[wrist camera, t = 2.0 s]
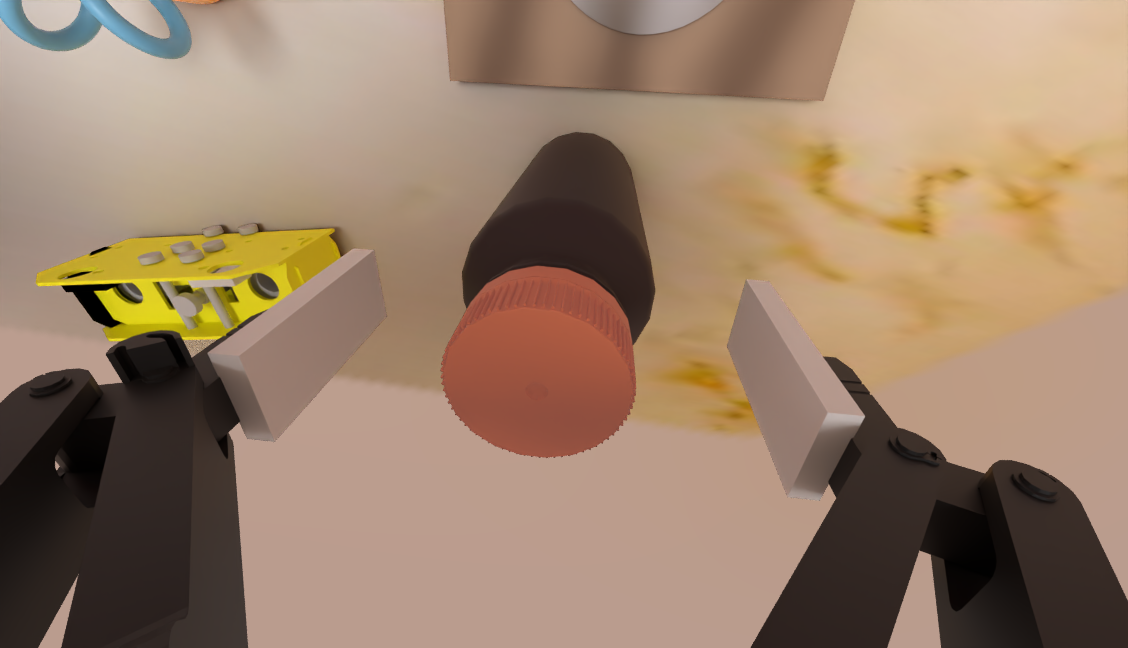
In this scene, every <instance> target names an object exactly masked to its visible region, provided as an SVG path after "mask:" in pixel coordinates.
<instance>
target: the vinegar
mask: <svg viewBox="0 0 1128 648" xmlns="http://www.w3.org/2000/svg"><path fill="white" fill-rule="evenodd" d="M462 280H463V299H464V303H465V305H466V308H467V310H466V312H465V313H464V315H463V318H462V319H461V321H460V323H459V325H458V327H457V328H456V330H455V332H454V334H453V335H452V337H451V339H450V341H449V343H448V345H447V347H446V349H445V353H444V355H443V357H442V358H444V359H443V361H442V363H441V365H443V366H442V368H441V370H440V371H442V372H443V373H442V375H441V378H443V381H442V383H441V384H442V385H445V387H444V389H443V391H445V393H446V395H445V397H448V399H449V401H448V403H450V404H451V405H452V408H451V409H454V411H455V413H456V414H455V415H457V416H458V417H460V421H463V422H464V423H465V426H468V427H469V428H470V430H471V431H472V432H474V433H475V434H476V435H479V436H480V437H482V439H485V440H486V441H488V443H491V444H493V445H494V446H497V447H500V448H502V449H506V450H508V451H509V452H510V451H511V452H514V453H516V454H520V455H529V456H531V457H532V456H537V457H539V458H540V457H546V458H548V457H554V458H555V457H556V456H561V457H563V456H567V455H568V456H570V455H573V454H577V453H579V452H584V450H587V449H589V450H590V449H591V448H593V447H597V445H598V444H600V443H603V441H604V440H605V439H608V440H609V436H611V435H614V433H615V432H616V430H617V431H619V426H620V425H621V426H623V420H627V415H630V409H632V408H633V405H632V402H635V400H634V396H636V392H635V389H636V378H635V367H634V355H633V344H634V343H635V342H636V340H637V339H638V337H639V335H640V334H641V332H642V331H643V329H644V327H645V326H646V324H647V322H648V321H649V319H650V315H651V310H652V305H653V300H654V295H655V285H654V278H653V272H652V265H651V259H650V255H649V250H648V246H647V241H646V237H645V232H644V227H643V223H642V218H641V214H640V209H639V205H638V200H637V195H636V191H635V186H634V182H633V177H632V173H631V169H630V167H629V165H628V163H627V161H626V159H625V157H624V156H623V154H622V153H621V152H620V151H619V150H618V149H617V148H616V147H615V146H614V145H613V144H612V143H611V142H610V141H607V140H605V139H603V138H601V137H599V136H597V135H594V134H588V133H577V132H575V133H571V134H567V135H563V136H559V137H557V138H555V139H554V140H552V141H551V142H549V143H548V144H546V145H545V146H543V148H542V149H541V150H540V151H539V153H538V154H537V155H536V157H535V158H534V159H533V160H532V162H531V163H530V164H529V166H528V167H527V169H526V170H525V171H524V173H523V174H522V175H521V177H520V178H519V179H518V181H517V182H516V183H515V185H514V186H513V187H512V189H511V190H510V191H509V193H508V194H507V196H506V197H505V198H504V200H503V201H502V202H501V204H500V205H499V206H498V208H497V209H496V210H495V212H494V213H493V214H492V216H491V217H490V219H489V220H488V221H487V223H486V224H485V225H484V227H483V228H482V229H481V231H480V232H479V233H478V235H477V236H476V237H475V239H474V240H473V241H472V243H471V245H470V248H469V252H468V255H467V258H466V261H465V264H464V268H463V271H462Z"/></svg>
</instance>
